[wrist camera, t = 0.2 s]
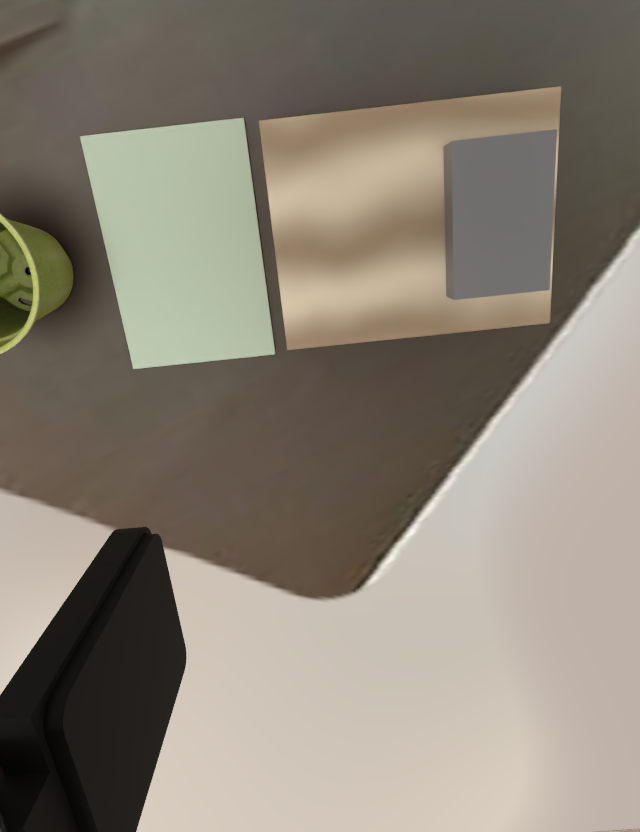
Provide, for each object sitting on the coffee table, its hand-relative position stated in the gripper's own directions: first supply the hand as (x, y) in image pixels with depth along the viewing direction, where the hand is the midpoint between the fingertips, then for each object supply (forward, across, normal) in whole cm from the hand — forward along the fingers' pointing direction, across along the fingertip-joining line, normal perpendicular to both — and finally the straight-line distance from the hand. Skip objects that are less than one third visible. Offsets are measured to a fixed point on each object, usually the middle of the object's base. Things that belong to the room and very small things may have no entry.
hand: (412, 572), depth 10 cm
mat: (+31, +11, -6) cm, 33 cm away
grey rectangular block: (+27, -10, -6) cm, 29 cm away
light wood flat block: (+31, -5, -6) cm, 32 cm away
